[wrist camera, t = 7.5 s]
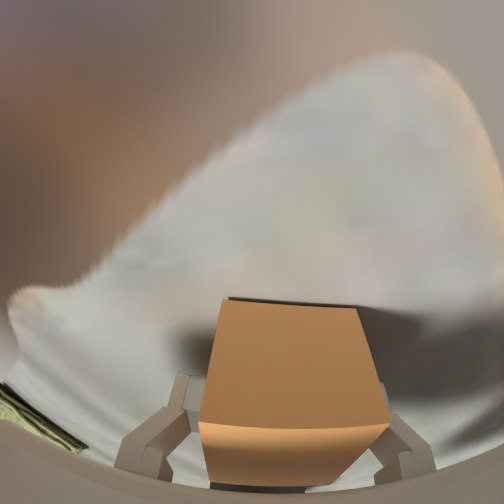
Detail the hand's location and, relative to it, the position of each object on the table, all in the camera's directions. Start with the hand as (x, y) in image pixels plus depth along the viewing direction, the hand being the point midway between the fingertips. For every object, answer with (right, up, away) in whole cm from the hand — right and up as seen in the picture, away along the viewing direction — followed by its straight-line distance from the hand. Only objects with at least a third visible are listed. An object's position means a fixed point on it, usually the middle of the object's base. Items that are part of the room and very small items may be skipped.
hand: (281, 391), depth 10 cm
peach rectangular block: (0, +1, +2) cm, 2 cm away
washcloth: (-29, -15, +13) cm, 36 cm away
